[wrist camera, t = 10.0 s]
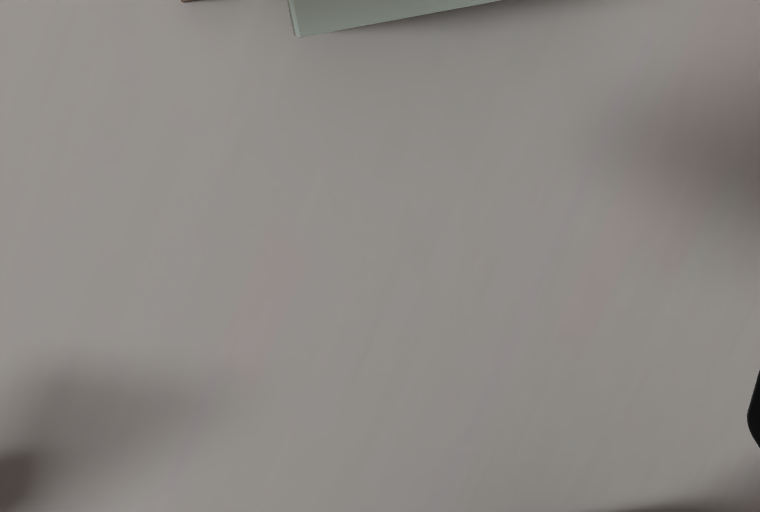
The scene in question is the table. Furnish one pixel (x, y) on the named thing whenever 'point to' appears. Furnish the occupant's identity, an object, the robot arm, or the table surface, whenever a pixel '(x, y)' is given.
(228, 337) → the table surface
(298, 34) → the socket
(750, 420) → the robot arm
